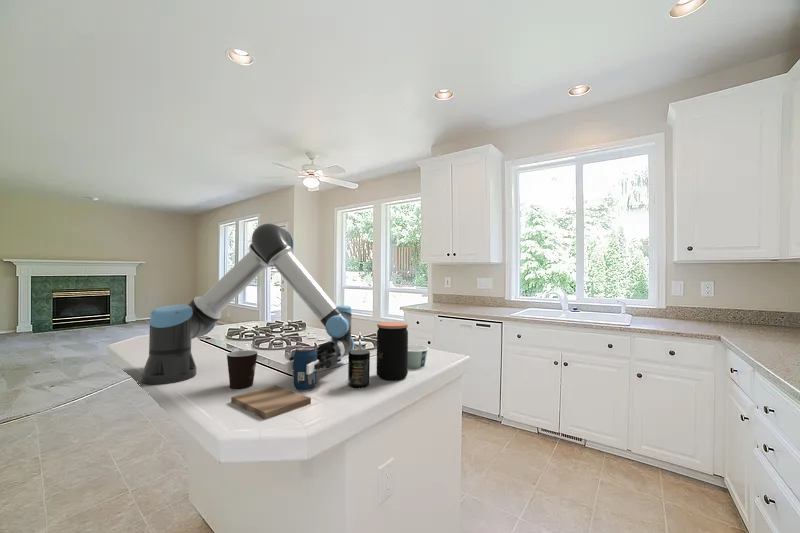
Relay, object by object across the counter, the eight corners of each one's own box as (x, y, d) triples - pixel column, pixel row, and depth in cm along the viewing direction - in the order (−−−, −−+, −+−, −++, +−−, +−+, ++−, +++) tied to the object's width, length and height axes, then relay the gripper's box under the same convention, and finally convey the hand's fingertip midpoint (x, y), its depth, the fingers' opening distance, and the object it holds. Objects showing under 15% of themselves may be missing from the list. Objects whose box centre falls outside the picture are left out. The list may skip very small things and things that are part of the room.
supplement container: (372, 387, 104) (372, 353, 104) (350, 390, 102) (350, 355, 102) (366, 381, 110) (366, 349, 111) (345, 383, 108) (346, 350, 108)
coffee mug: (244, 391, 99) (245, 357, 100) (219, 389, 101) (220, 355, 101) (268, 380, 111) (268, 349, 111) (244, 378, 112) (245, 347, 113)
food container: (391, 364, 133) (391, 347, 133) (413, 359, 141) (413, 343, 141) (413, 370, 124) (413, 352, 124) (435, 364, 132) (435, 348, 132)
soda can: (298, 383, 107) (299, 345, 107) (319, 384, 106) (320, 346, 107) (289, 391, 100) (289, 350, 101) (311, 392, 100) (312, 350, 100)
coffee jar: (379, 371, 122) (380, 321, 122) (409, 373, 120) (409, 322, 121) (373, 380, 111) (374, 325, 112) (405, 382, 110) (406, 326, 110)
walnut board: (231, 402, 91) (231, 396, 91) (275, 390, 101) (275, 385, 101) (265, 419, 80) (265, 413, 80) (310, 403, 90) (310, 397, 90)
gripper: (355, 364, 119) (327, 384, 96) (305, 360, 123) (267, 379, 101) (356, 342, 119) (327, 358, 97) (306, 340, 123) (267, 353, 101)
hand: (296, 368), depth 99 cm, fingers open, 6 cm apart
